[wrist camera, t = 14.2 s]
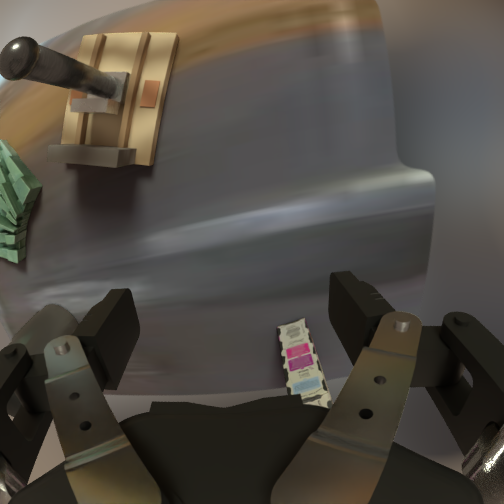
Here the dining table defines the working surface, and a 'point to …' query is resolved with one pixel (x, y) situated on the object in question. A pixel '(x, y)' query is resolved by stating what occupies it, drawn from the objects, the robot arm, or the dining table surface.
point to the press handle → (65, 75)
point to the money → (15, 202)
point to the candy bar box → (302, 364)
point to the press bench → (130, 114)
